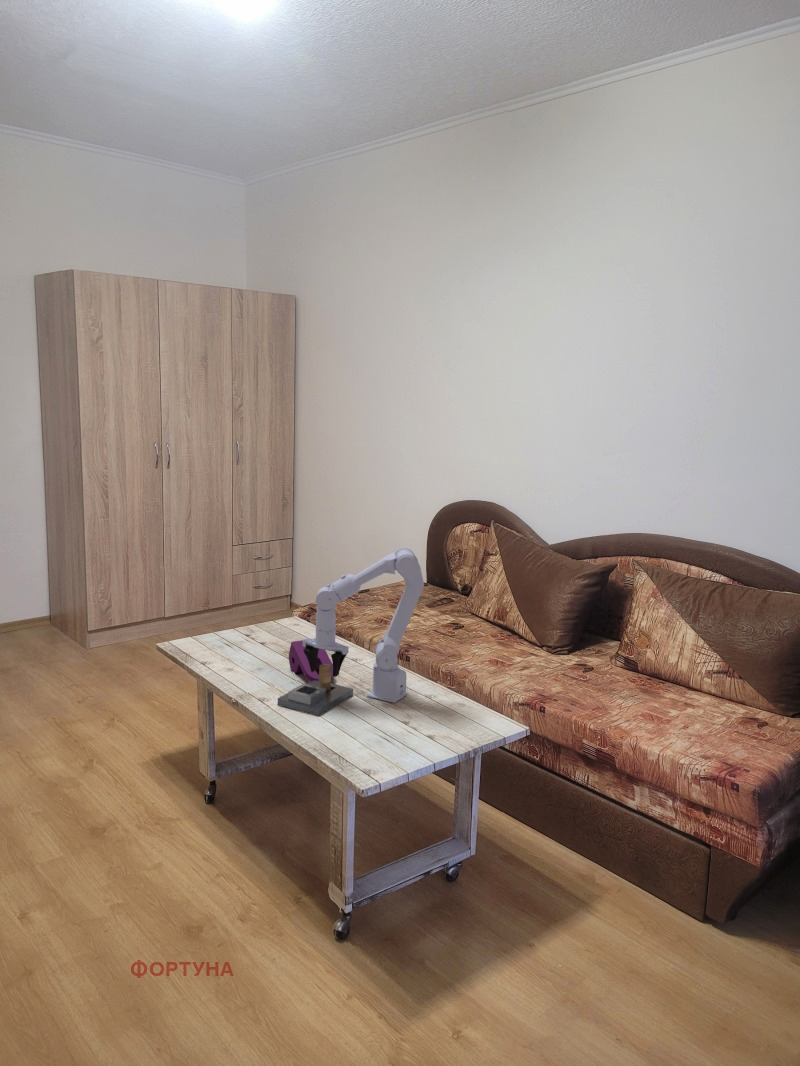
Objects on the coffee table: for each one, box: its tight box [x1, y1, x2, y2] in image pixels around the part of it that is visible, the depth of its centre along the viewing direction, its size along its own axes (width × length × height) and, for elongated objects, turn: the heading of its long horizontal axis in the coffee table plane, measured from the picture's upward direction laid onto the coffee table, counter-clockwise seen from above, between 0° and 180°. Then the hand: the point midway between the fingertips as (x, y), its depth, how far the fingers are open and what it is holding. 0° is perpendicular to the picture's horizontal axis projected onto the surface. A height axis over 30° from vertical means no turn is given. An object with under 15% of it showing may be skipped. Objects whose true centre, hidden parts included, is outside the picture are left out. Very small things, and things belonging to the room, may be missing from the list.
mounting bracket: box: [288, 639, 335, 682], centre depth 252 cm, size 9×8×18 cm
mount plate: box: [277, 680, 354, 716], centre depth 232 cm, size 14×18×4 cm
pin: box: [318, 664, 332, 693], centre depth 236 cm, size 3×3×9 cm
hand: (324, 673), depth 235 cm, fingers open, 7 cm apart
